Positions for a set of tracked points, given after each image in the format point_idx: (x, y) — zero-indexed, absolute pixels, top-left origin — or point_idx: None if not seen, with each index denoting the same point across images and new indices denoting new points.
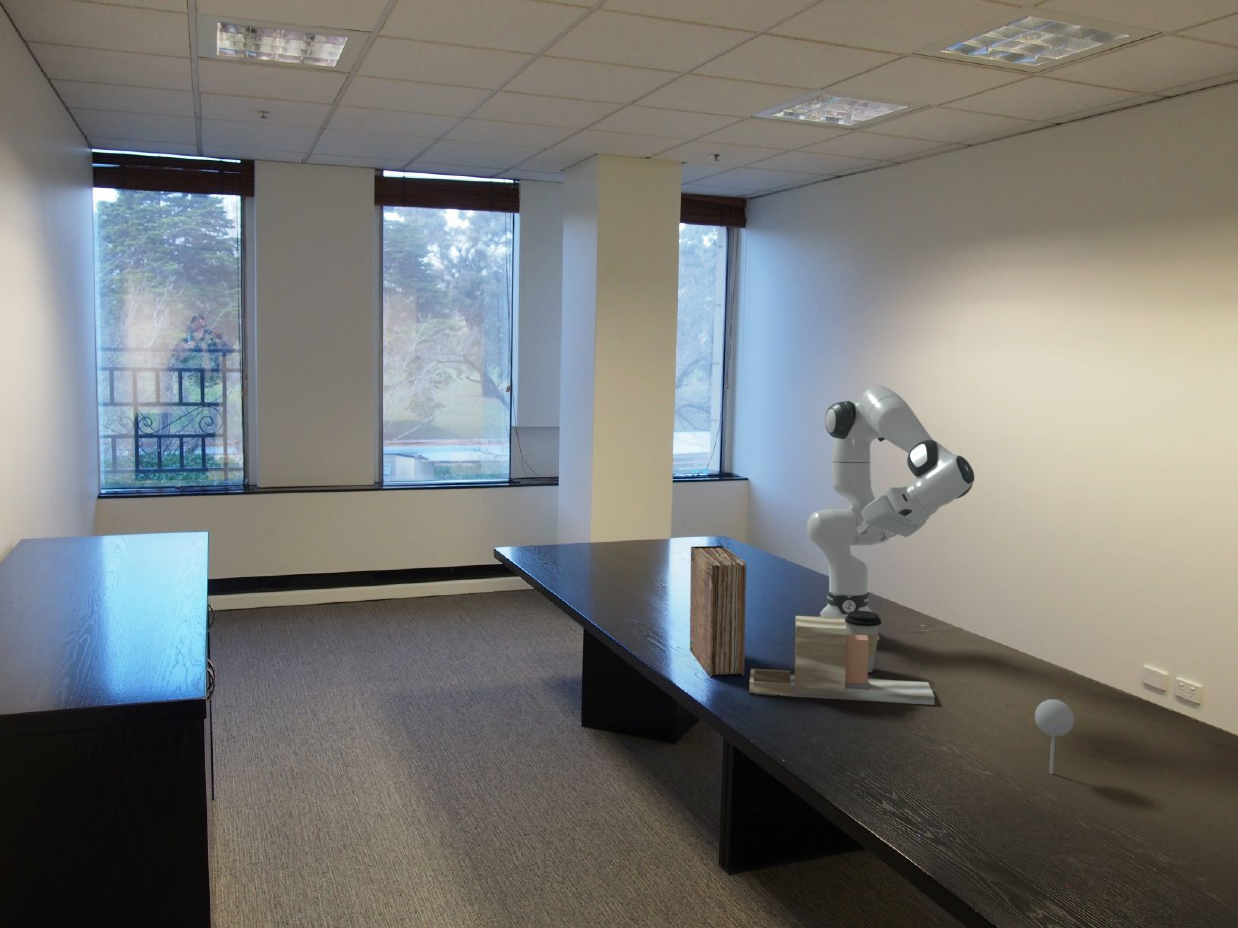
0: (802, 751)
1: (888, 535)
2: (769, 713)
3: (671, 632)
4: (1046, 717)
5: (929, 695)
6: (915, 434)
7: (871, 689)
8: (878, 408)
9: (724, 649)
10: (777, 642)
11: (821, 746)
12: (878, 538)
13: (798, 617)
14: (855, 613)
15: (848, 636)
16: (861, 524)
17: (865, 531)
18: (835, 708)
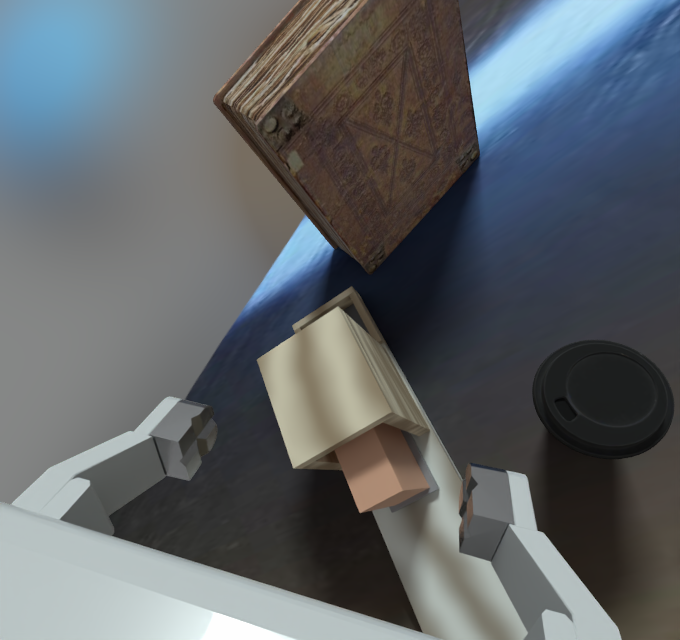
0: (152, 506)
1: (512, 590)
2: (246, 400)
3: (504, 48)
4: None
5: None
6: None
7: (398, 515)
8: None
9: (332, 233)
10: (618, 177)
11: (172, 522)
12: (462, 487)
13: (326, 320)
14: (598, 363)
15: (362, 450)
16: (126, 435)
17: (172, 472)
18: (311, 476)
